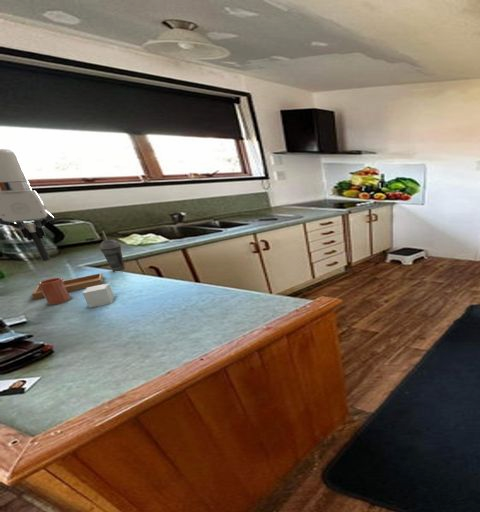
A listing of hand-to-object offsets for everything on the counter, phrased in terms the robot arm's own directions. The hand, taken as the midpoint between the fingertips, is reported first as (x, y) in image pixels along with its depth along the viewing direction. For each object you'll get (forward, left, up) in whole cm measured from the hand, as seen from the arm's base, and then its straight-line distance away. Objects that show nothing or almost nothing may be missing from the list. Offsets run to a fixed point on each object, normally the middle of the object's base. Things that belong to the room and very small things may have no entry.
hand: (36, 238), depth 100 cm
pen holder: (-1, -5, -24) cm, 24 cm away
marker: (0, 0, -9) cm, 9 cm away
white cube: (+11, -19, -24) cm, 33 cm away
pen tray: (+1, +10, -24) cm, 26 cm away
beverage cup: (+16, +23, -24) cm, 37 cm away
